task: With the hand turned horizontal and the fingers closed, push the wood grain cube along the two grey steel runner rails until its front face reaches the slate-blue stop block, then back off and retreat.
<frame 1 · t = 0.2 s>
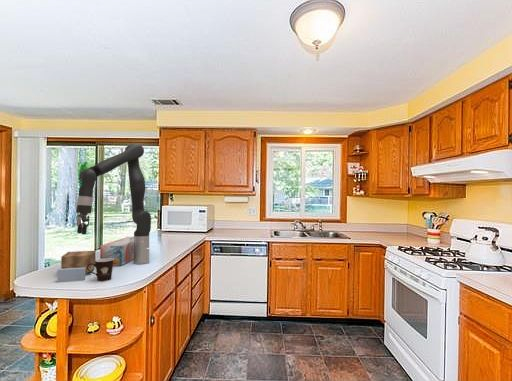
hand: (81, 233, 175), 22 cm above the table, tool pointing down, fingers open, 8 cm apart
rails: (77, 274, 172), on the table
coffee mug: (101, 279, 162), on the table
stop block: (71, 280, 160), on the table
soda box: (125, 259, 210), on the table
wood grain cube: (79, 269, 175), point 2 cm above the table, touching rails
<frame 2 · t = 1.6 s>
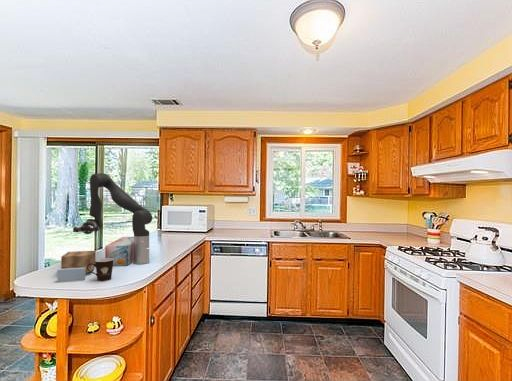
hand: (83, 230, 185), 22 cm above the table, tool horizontal, fingers open, 7 cm apart
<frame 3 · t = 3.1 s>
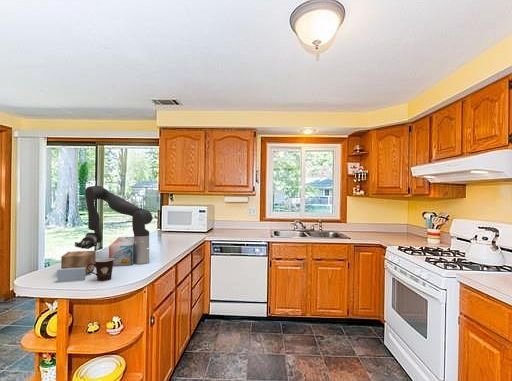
hand: (82, 246, 185), 13 cm above the table, tool horizontal, fingers closed
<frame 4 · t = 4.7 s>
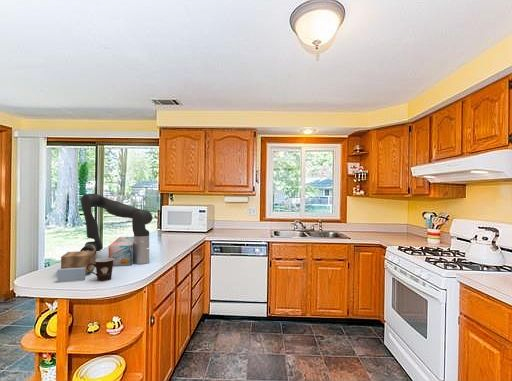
hand: (81, 256, 182), 8 cm above the table, tool horizontal, fingers closed
wood grain cube: (78, 269, 175), point 2 cm above the table, touching gripper
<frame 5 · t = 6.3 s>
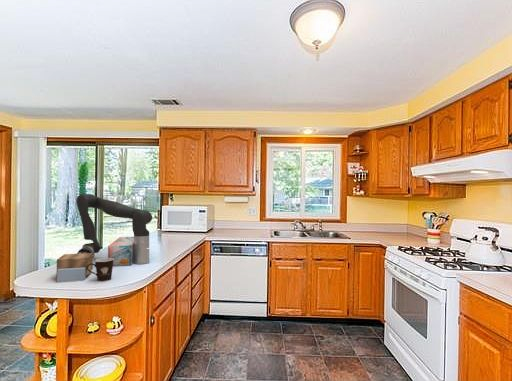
hand: (78, 259, 175), 8 cm above the table, tool horizontal, fingers closed
wood grain cube: (75, 272, 168), point 2 cm above the table, touching gripper, rails
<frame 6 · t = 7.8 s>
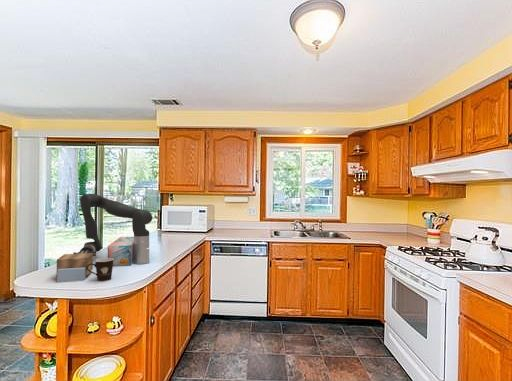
hand: (81, 257, 181), 7 cm above the table, tool horizontal, fingers closed
wood grain cube: (75, 272, 168), point 2 cm above the table, touching rails
everything else where it was.
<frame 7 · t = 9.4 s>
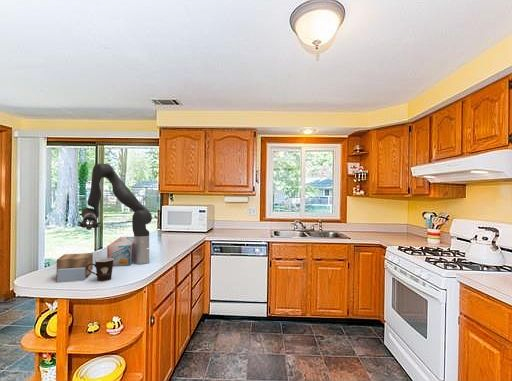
hand: (88, 228, 183), 24 cm above the table, tool horizontal, fingers closed
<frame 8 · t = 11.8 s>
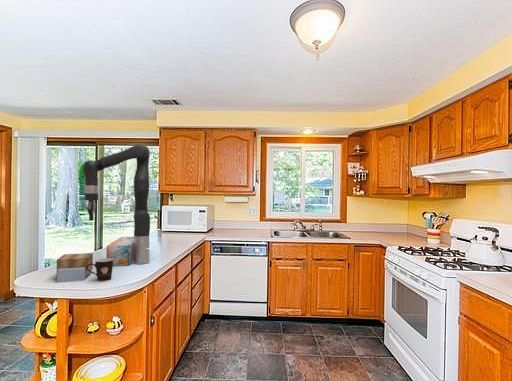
hand: (91, 220, 197), 27 cm above the table, tool pointing down, fingers closed
at the end: wood grain cube inside the target area (0.5 cm from its centre), point 1.6 cm above the table; wood grain cube tilted 0°; wood grain cube moved 7.3 cm from its start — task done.
